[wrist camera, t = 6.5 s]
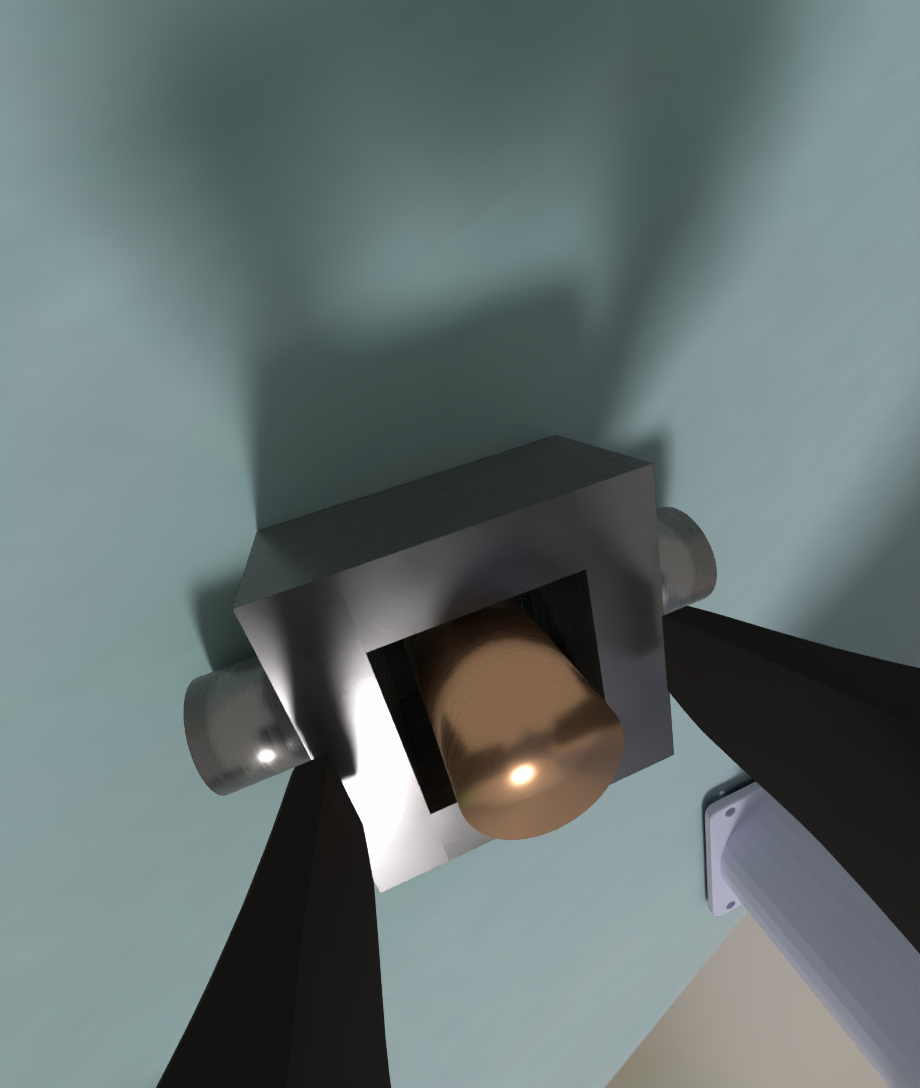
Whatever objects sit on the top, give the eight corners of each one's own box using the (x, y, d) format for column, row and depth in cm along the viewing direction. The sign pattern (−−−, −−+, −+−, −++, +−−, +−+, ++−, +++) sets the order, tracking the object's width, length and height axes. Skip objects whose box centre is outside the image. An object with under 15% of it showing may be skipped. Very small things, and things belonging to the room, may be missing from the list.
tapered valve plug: (493, 544, 13) (617, 666, 8) (512, 636, 15) (630, 795, 9) (383, 580, 13) (436, 739, 7) (413, 673, 14) (477, 865, 9)
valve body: (636, 409, 13) (759, 426, 10) (656, 640, 16) (752, 717, 13) (147, 566, 11) (70, 665, 7) (282, 797, 14) (273, 943, 11)
